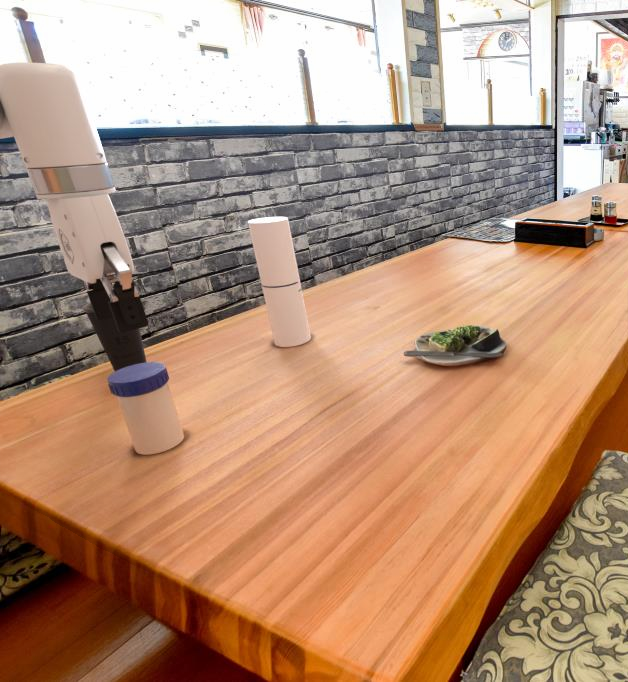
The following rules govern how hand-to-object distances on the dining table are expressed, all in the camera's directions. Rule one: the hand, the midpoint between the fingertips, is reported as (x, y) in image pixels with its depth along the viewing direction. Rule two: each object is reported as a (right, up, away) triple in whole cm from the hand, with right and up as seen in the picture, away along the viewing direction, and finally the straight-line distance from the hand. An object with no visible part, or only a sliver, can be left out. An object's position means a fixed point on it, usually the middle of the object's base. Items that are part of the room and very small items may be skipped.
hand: (122, 322), depth 69 cm
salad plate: (+41, -5, +34) cm, 54 cm away
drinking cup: (-20, -9, +30) cm, 37 cm away
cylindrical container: (+5, -2, +42) cm, 43 cm away
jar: (0, -17, +7) cm, 18 cm away
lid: (0, -7, +3) cm, 8 cm away
